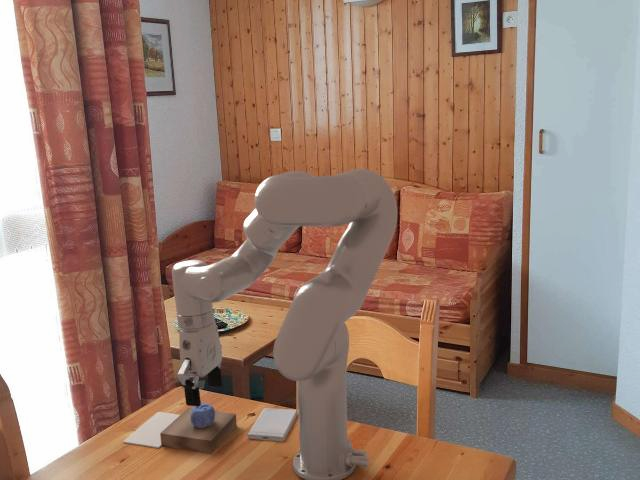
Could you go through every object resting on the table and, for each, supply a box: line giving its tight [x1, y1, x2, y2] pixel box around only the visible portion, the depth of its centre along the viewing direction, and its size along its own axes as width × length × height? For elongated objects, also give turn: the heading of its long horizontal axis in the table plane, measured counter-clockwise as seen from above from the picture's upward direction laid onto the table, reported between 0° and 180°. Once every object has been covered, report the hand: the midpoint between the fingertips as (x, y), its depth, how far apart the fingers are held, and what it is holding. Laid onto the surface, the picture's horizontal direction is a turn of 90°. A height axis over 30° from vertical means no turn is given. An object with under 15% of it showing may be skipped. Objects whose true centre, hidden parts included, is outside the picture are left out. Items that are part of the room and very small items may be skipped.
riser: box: [160, 407, 238, 455], centre depth 140 cm, size 12×12×3 cm
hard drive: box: [246, 407, 298, 442], centre depth 144 cm, size 2×8×12 cm
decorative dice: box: [191, 402, 216, 428], centre depth 139 cm, size 4×4×4 cm
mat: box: [122, 411, 181, 449], centre depth 144 cm, size 9×14×1 cm, turn 162°
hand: (204, 395), depth 138 cm, fingers open, 9 cm apart
